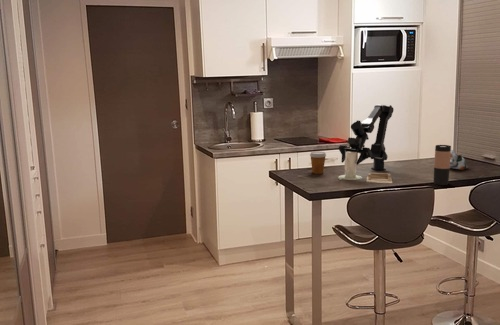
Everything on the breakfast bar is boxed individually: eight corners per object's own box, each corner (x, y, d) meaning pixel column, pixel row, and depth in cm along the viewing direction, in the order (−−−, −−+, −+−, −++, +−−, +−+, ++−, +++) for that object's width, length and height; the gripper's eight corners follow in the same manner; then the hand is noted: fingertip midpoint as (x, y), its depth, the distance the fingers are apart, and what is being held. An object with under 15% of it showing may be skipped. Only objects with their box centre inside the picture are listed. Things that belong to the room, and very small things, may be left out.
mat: (334, 177, 266) (334, 175, 265) (354, 175, 270) (354, 173, 270) (346, 182, 254) (346, 180, 253) (366, 180, 258) (367, 178, 258)
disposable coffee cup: (315, 175, 273) (316, 154, 271) (306, 172, 281) (306, 152, 279) (329, 173, 277) (329, 153, 275) (319, 170, 286) (319, 150, 283)
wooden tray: (366, 178, 262) (367, 172, 261) (391, 179, 259) (391, 173, 258) (366, 183, 250) (366, 177, 249) (392, 185, 246) (392, 178, 246)
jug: (348, 175, 266) (349, 150, 263) (358, 176, 262) (358, 152, 259) (340, 178, 260) (341, 152, 257) (350, 179, 256) (350, 154, 253)
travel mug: (430, 182, 252) (432, 145, 248) (444, 181, 252) (446, 144, 249) (437, 185, 244) (439, 147, 240) (451, 184, 245) (454, 146, 241)
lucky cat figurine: (469, 170, 279) (462, 151, 274) (448, 177, 283) (441, 158, 278) (464, 159, 292) (457, 140, 287) (444, 165, 296) (437, 147, 291)
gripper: (340, 130, 266) (329, 152, 260) (370, 133, 254) (359, 156, 248) (347, 142, 273) (336, 164, 267) (376, 145, 261) (366, 168, 255)
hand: (349, 163), depth 259 cm, fingers open, 9 cm apart
